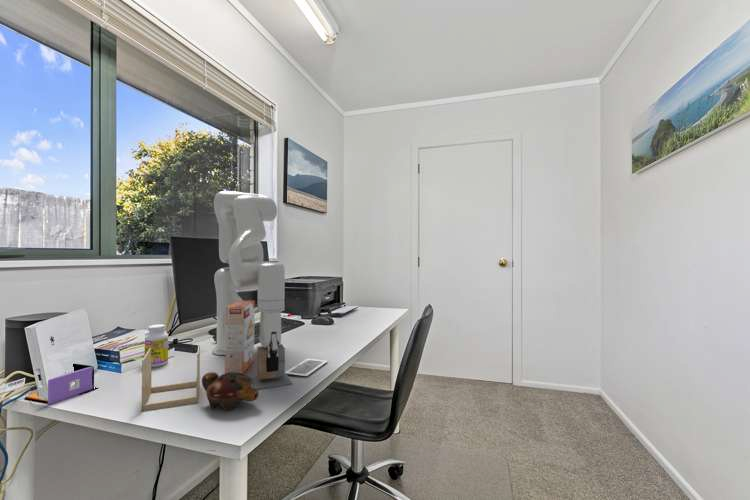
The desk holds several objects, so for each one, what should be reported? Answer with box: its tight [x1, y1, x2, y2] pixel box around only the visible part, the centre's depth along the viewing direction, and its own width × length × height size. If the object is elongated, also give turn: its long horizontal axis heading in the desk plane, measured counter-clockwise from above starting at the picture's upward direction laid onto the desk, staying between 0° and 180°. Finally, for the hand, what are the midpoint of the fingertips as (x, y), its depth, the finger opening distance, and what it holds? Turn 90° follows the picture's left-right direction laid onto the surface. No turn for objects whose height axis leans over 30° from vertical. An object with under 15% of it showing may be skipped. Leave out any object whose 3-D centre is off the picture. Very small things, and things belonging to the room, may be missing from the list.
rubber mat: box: [250, 373, 293, 391], centre depth 100 cm, size 10×10×1 cm
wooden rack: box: [141, 342, 201, 412], centre depth 88 cm, size 12×12×12 cm
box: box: [256, 343, 286, 380], centre depth 100 cm, size 5×7×8 cm
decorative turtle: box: [201, 371, 260, 412], centre depth 83 cm, size 10×15×8 cm, turn 79°
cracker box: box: [224, 300, 256, 375], centre depth 111 cm, size 14×6×21 cm, turn 7°
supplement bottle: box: [144, 323, 169, 368], centre depth 114 cm, size 7×7×13 cm
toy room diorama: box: [24, 363, 99, 405], centre depth 89 cm, size 12×12×7 cm
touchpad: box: [285, 358, 328, 377], centre depth 110 cm, size 8×15×2 cm, turn 163°
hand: (270, 367), depth 100 cm, fingers closed on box, 5 cm apart
